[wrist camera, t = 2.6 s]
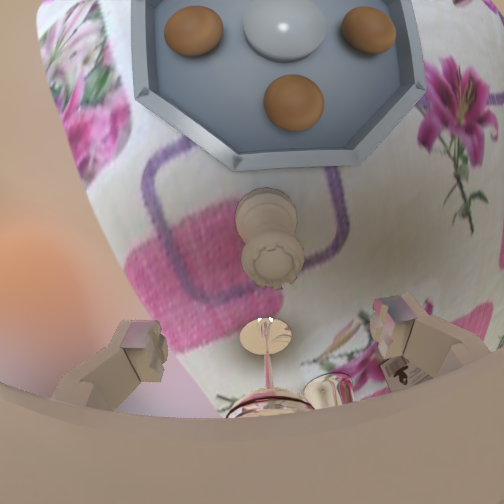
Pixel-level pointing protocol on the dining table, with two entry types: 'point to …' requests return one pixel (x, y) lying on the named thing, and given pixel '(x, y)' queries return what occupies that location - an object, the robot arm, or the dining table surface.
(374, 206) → the dining table surface
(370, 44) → the walnut bead
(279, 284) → the rook chess piece
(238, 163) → the ring dish
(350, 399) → the beer glass
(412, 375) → the coffee box
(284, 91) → the walnut bead
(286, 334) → the wineglass
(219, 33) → the walnut bead
